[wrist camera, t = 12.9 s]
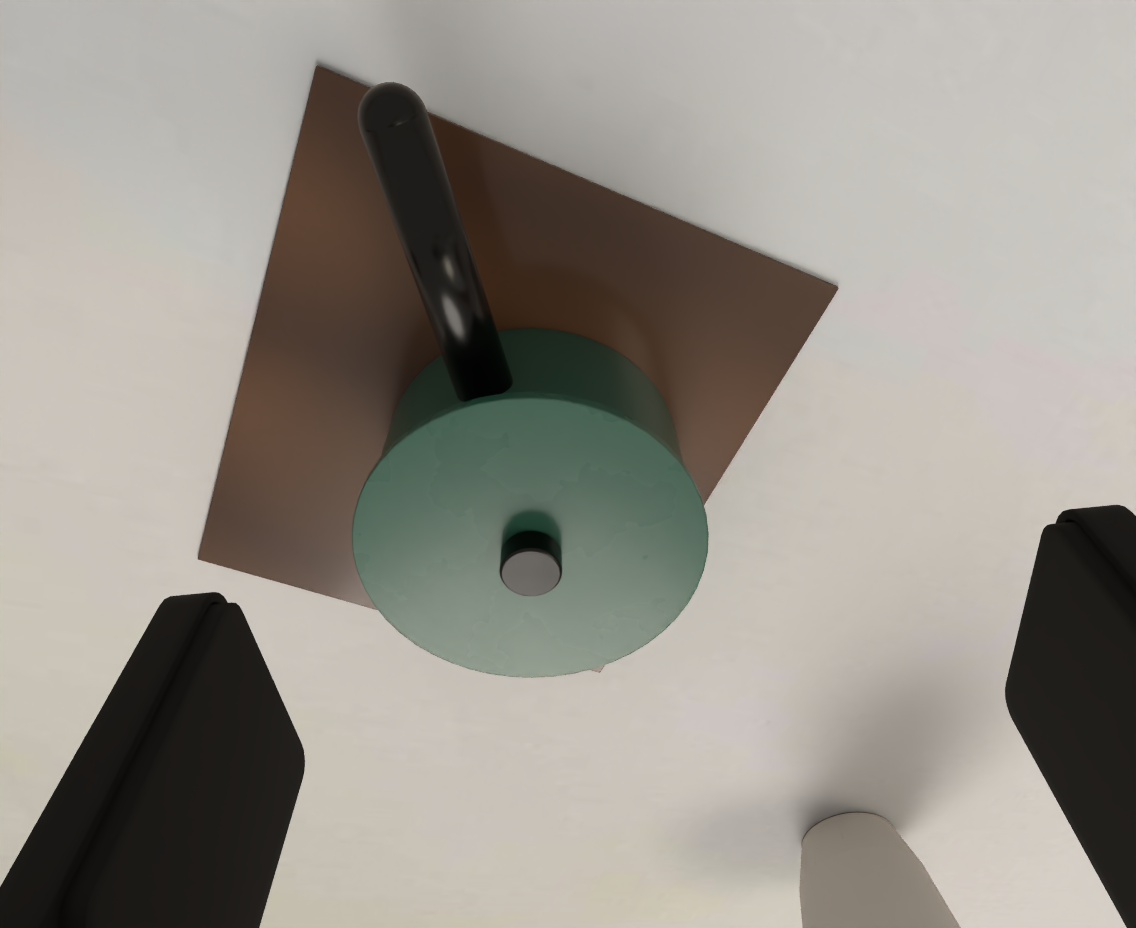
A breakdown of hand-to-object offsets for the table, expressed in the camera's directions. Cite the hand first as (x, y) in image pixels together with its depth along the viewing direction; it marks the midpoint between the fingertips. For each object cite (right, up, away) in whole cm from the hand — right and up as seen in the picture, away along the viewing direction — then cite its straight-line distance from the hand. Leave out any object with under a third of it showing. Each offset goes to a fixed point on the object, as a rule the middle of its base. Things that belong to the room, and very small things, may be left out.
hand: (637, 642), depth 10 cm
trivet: (-4, +3, +22) cm, 22 cm away
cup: (+15, -18, +37) cm, 43 cm away
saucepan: (-3, +6, +20) cm, 21 cm away
